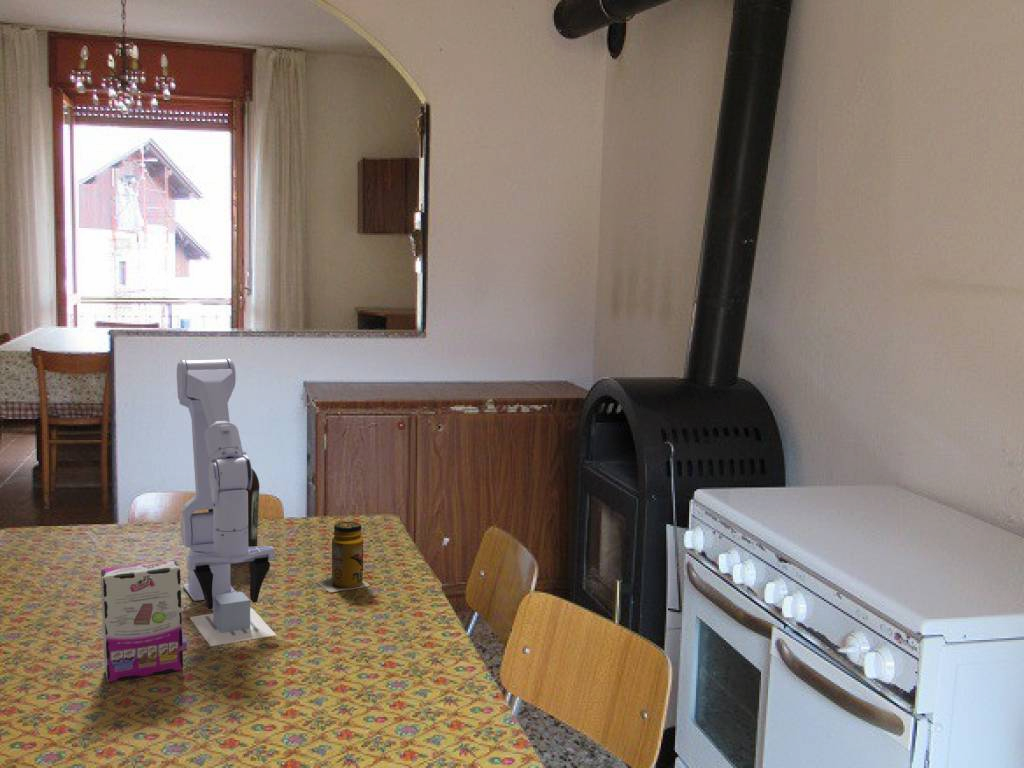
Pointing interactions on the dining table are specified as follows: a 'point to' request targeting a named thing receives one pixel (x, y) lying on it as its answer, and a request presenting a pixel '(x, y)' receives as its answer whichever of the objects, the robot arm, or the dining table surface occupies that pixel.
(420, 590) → the dining table surface
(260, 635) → the letter
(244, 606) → the cube
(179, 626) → the candy bar box
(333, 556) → the condiment
